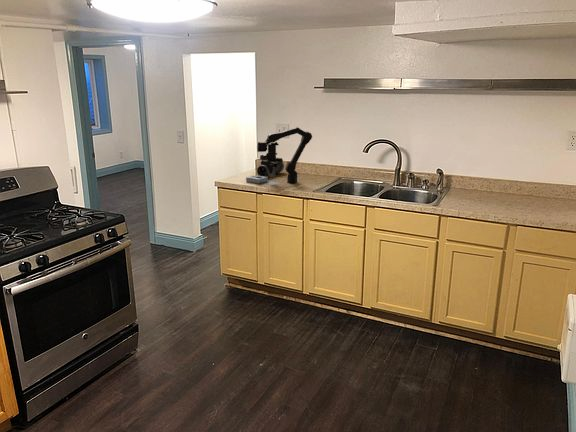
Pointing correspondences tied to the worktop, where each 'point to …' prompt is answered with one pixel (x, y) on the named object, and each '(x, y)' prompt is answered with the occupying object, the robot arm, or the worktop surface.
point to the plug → (272, 173)
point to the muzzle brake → (263, 169)
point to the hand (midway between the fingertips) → (271, 173)
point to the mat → (271, 183)
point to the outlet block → (257, 179)
